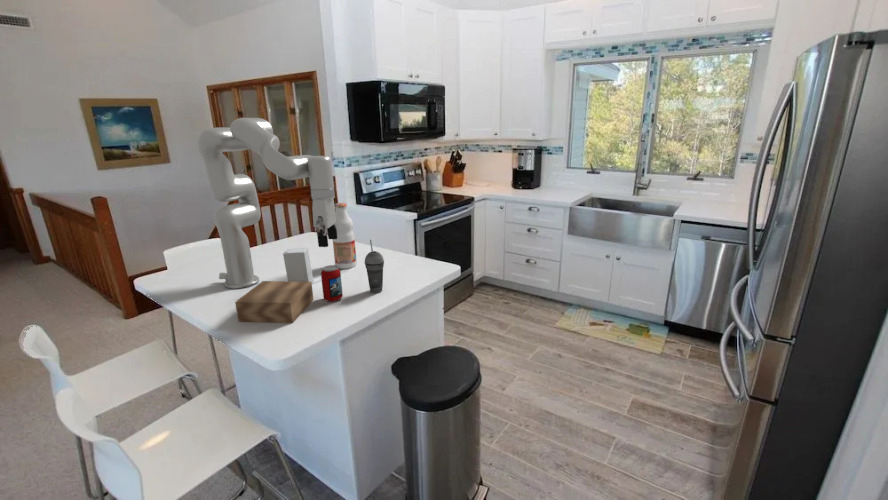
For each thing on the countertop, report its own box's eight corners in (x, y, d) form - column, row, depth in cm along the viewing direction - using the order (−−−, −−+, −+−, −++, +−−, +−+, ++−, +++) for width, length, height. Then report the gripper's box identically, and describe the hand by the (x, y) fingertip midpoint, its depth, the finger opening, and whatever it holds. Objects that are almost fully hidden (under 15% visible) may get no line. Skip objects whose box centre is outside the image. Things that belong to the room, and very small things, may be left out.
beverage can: (337, 303, 145) (334, 271, 142) (320, 302, 147) (316, 270, 143) (346, 295, 152) (343, 265, 148) (329, 294, 153) (325, 264, 149)
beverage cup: (377, 296, 151) (373, 243, 145) (362, 292, 155) (358, 241, 149) (389, 289, 157) (387, 239, 151) (375, 285, 161) (372, 236, 155)
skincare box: (313, 282, 165) (309, 247, 160) (309, 288, 159) (305, 251, 154) (292, 283, 164) (287, 247, 160) (287, 289, 159) (282, 252, 154)
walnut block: (238, 321, 133) (235, 301, 131) (265, 299, 150) (262, 281, 148) (292, 322, 131) (290, 302, 129) (313, 299, 149) (311, 281, 146)
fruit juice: (331, 265, 184) (325, 204, 176) (349, 261, 190) (344, 201, 182) (342, 270, 177) (336, 207, 169) (360, 265, 184) (356, 203, 175)
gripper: (321, 189, 146) (326, 236, 151) (301, 198, 130) (308, 250, 135) (341, 189, 146) (346, 236, 151) (325, 198, 129) (330, 250, 134)
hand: (328, 242), depth 143 cm, fingers open, 9 cm apart
